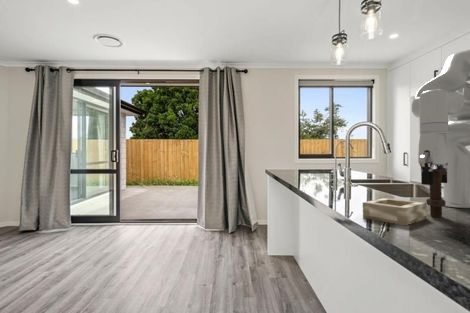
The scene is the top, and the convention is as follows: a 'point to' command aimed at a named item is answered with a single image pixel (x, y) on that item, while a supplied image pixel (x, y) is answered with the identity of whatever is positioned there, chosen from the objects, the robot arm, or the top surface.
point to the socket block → (394, 211)
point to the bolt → (436, 194)
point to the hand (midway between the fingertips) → (434, 183)
